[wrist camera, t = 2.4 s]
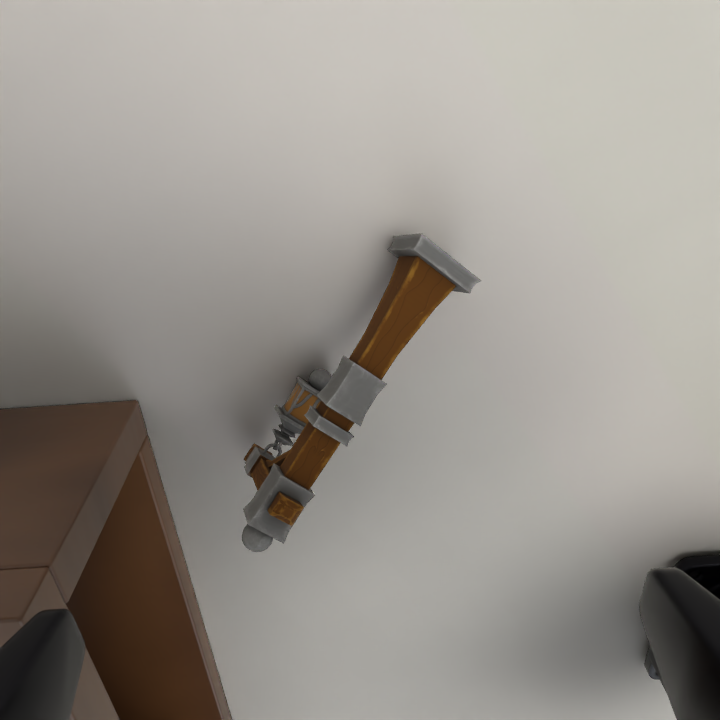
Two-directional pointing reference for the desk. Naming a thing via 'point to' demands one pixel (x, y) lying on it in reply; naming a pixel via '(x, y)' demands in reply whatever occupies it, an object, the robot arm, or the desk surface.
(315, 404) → the grey and wood assembly
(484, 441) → the desk surface
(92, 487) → the shelf
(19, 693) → the robot arm
